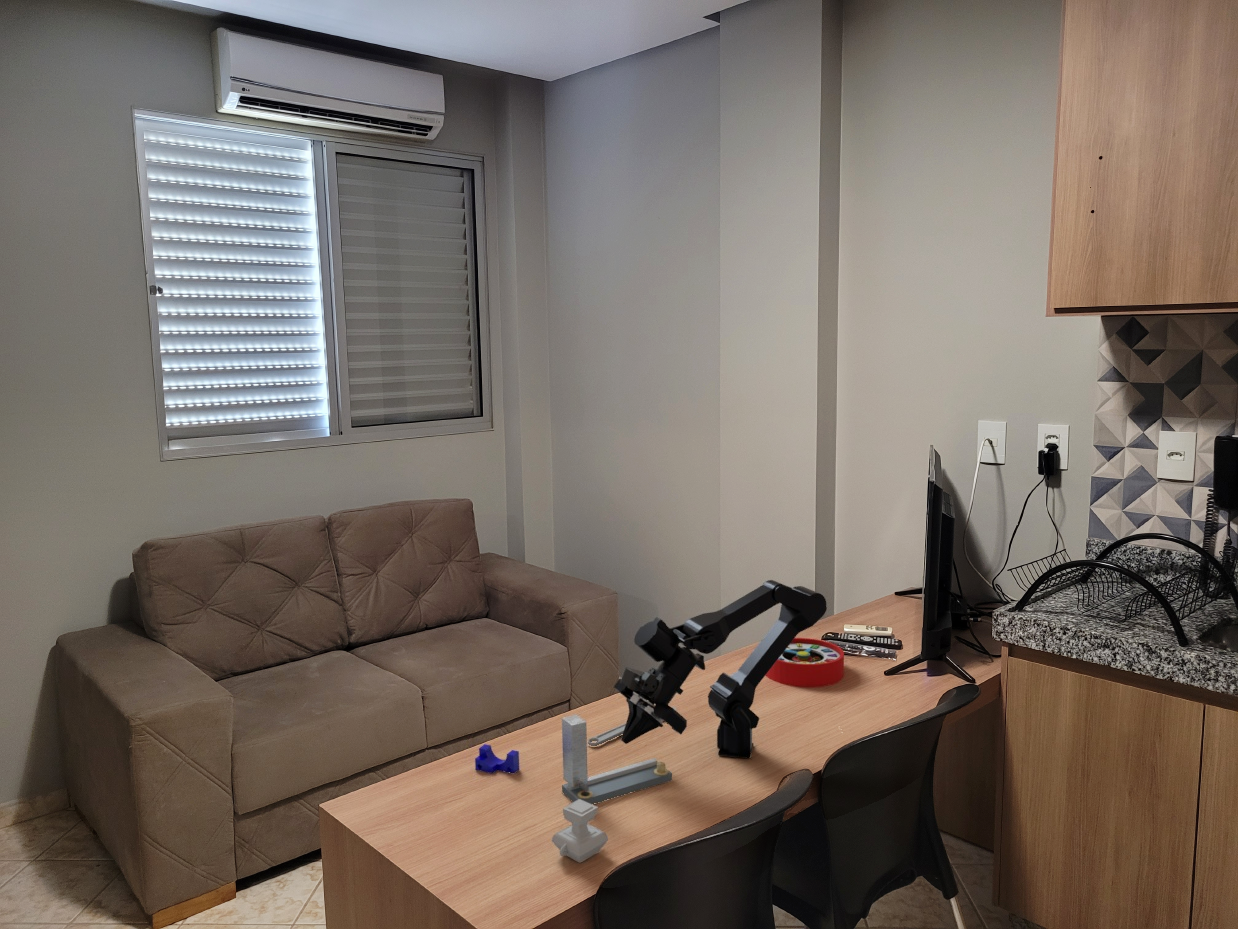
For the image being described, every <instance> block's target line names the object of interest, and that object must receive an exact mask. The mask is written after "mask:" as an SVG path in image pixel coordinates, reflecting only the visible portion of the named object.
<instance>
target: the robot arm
mask: <svg viewBox="0 0 1238 929" xmlns="http://www.w3.org/2000/svg"><path fill="white" fill-rule="evenodd" d="M778 604H781V606H780V612H779V617H778V619H777V620H776V621H775V622H774V623H773V625H772V627H771V628H770V629H769V630H768V631H767V633H766V634H765V635H764V637H762V639H761V640H760V642H759V643H758V644H757V645H756V647H755V648H754V649H753V651H752V652H751V653H750V654H749V656H748V657H746V660H744V662H743V663H742V664H741V666H740V667H739V668H738V670H737V671H735V672H734V673H731V674H729V675H728V673H725V672H722V673H720V675H719V676H718V678H717V680H716V681H715V682H714V683H713V684H711V685H710V686H709V687H710V691H709V693H708V695H707V698H708V699H707V704H708V705H709V706H708V707H710V710H712V711H714V714H715V716H716V717H717V718H719V719H720V722H719V725H718V727H717V729H716V748H717V749H718V752H717V753H718V754H717V755H718V756H721V757H731V758H739V759H740V758H741V759H750V758H751V757H752V753H753V749H754V743H753V729H756V728H757V727H758V723H759V721H760V717H759V716H758V715H757V714H756V713H755V712H754V711H753V710H751V707H752V705H753V703H754V699H755V693H756V688H757V687H758V686H759V684H760V682H761V681H763V680H764V677H766V676H765V675H766V674H767V673H768V671H769V670H770V669H771V667H772V666H773V665H774V664H775V662H776V661H777V660H778V659H779V657H780V656H781V655H782V653H783V652H784V651H785V650H786V648H787V647H788V646H789V644H790V643H791V642H792V641H793V639H794V638H797V636H798V635H799V633H801V632H803V631H805V630H808V629H810V628H812V627H813V626H815V624H817V623H818V622H819V621H820V620H821V619H822V618H823V617H824V616H825V614H826V613H827V608H828V607H827V600H826V597H825V596H824V595H823V594H821V593H820V592H818V591H815V590H812V589H809V588H808V587H805V586H803V585H802V586H801V585H798V586H794V587H791V586H788V585H786V584H784V583H780V582H778V581H776V580H773V579H768V580H765V581H764V582H763V583H762V584H761V585H760V586H759V587H757V588H755V589H754V590H752V591H750V592H748V593H747V594H745V595H743V596H741V597H740V598H738V599H736V600H734V601H733V602H731V603H729V604H727V605H726V606H724V607H723V608H721V609H718V610H716V611H712V612H706V613H701V614H698V615H696V616H692V617H691V618H688V619H686V621H685V622H684V623H682V624H680V625H677V626H673V627H669V626H668V625H667V623H666V622H665V621H664V620H663V619H661V618H660V617H657V616H656V617H655V618H654V619H653V620H652V621H648V622H647V623H645V624H644V625H643V626H641V627H639V628H638V630H637V631H636V634H635V635H634V640H633V642H634V644H635V645H636V646H637V647H638V648H639V649H640V650H642V652H644V653H645V654H646V655H647V656H648V657H650V659H652V660H653V661H654V662H656V663H659V662H661V663H659V666H658V667H657V669H656V668H655V667H651V668H650V669H649V670H648V671H645V672H643V671H641V670H638V669H634V668H631V667H627V666H625V668H624V671H623V674H622V676H621V678H620V679H618V680H617V682H616V683H615V684H614V686H613V688H614V689H615V690H616V691H617V692H618V693H620V694H621V695H622V696H623V697H624V698H625V699H626V703H627V706H628V716H627V720H626V722H625V723H626V725H625V729H624V732H623V735H622V736H621V737H620V738H621V739H620V740H621V742H622V743H624V745H625V744H626V745H627V744H629V743H631V742H632V741H634V740H636V739H638V738H640V737H641V736H643V735H645V734H647V733H649V732H650V731H653V730H656V729H657V728H662V727H664V725H663V724H662V723H663V722H665V723H666V724H667V725H669V726H670V727H671V729H672V730H674V731H675V732H676V733H678V734H679V735H682V734H683V733H684V732H685V730H686V728H687V727H688V726H687V725H688V721H687V719H686V718H685V717H683V716H684V715H683V716H682V714H680V713H679V712H678V711H677V709H676V710H674V709H673V706H672V707H671V706H670V705H669V704H670V703H671V702H672V700H673V699H674V697H675V696H676V694H678V695H681V696H682V694H683V692H684V690H683V689H682V688H681V687H682V686H683V684H684V683H685V682H686V680H687V679H688V677H689V675H690V674H691V673H692V671H693V670H694V668H695V667H696V668H698V669H700V670H702V671H705V670H706V663H705V660H704V659H705V656H704V655H709V654H711V653H713V652H714V651H715V650H717V649H718V648H720V647H721V646H722V645H723V644H724V643H725V642H726V641H727V639H728V637H729V636H730V634H731V633H732V632H733V631H735V630H736V629H737V628H740V627H742V626H743V625H745V624H747V623H748V622H750V621H751V620H753V619H755V618H757V617H758V616H760V615H762V614H763V613H765V612H766V611H768V610H769V609H772V608H773V607H775V606H776V605H778ZM680 644H681V645H683V646H680ZM692 650H696V651H697V652H699V653H694V651H692ZM700 653H701V654H700ZM703 654H704V655H703ZM663 720H664V721H663Z"/></svg>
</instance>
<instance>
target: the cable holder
mask: <svg viewBox="0 0 1238 929" xmlns="http://www.w3.org/2000/svg"><path fill="white" fill-rule="evenodd" d="M478 754H479V755H478V756H476V757H475V758H474V763H475V764H474V768H475V770H476V771H480V772H485V773H488V772H489V774H492V773H493V772H494V773H495V772H497V771H498V770H499V771H500V772H503V771H505V772H504V773H507V772H510V773H509V774H511V773H515V772H516V771H517V772H519V771H520V751H519V750H514V749H512V750H510V751H509V752H508V753H506V756H505V757H506V758H505V759H502V758H499V757H497V756H496V754H495V753H494V751H493V749H492V745H490V744H486V743H484V744H483V745H482V746H480V747H479V748H478ZM499 771H498V772H499ZM517 772H516V773H517ZM494 773H493V774H494ZM516 773H515V774H516Z"/></svg>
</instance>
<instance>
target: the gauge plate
mask: <svg viewBox="0 0 1238 929" xmlns="http://www.w3.org/2000/svg"><path fill="white" fill-rule="evenodd" d="M671 780H672V781H673V772H671V771H670V770H669V769H667V768H666V763H665V762H663V761H659V762H658V760H657V758H654V757H653V758H651V759H647V760H644V761H640V762H636V763H633V764H630V765H627V766H623V767H619V768H616V769H612V770H609V771H606V772H603V773H598V774H595V775H592V776H589V777H588V784H585V785H586V786H587V787H588V788H589V791H586V793H582V789H581V788H580V787H579V786H578V787H575V788H573V787H572V786H571V785H569V784H568V783H567V782H566V783H565V784H562V785H561V792H563V793H564V794H565V795H566V796H567V797H568V798H569V801H571V800H572V801H571V803H573V802H575V801H576V800H578V799H581V800H583V801H585V802H587V803H590V804H594V803H597V804H599V803H598V802H601V803H603V802H602V801H604V800H607V799H610V800H612V799H611V798H614V797H617V796H620V797H622V796H621V795H623V796H625V795H624V794H627V795H629V794H628V793H630V792H633V793H635V792H634V791H636V792H639V791H638V790H640V791H642V790H641V789H643V790H645V788H646V789H649V788H652V786H653V787H655V785H656V786H659V785H662V784H666V783H668V781H669V782H672V781H671ZM665 782H666V783H665ZM658 784H659V785H658ZM648 787H649V788H648ZM563 793H562V794H563ZM564 794H563V795H564ZM630 794H631V793H630ZM565 795H564V796H565ZM566 796H565V797H566ZM567 797H566V798H567ZM568 798H567V799H568ZM617 798H618V797H617ZM614 799H615V798H614ZM607 801H608V800H607ZM604 802H605V801H604ZM594 805H595V804H594Z"/></svg>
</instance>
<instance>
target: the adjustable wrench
mask: <svg viewBox="0 0 1238 929" xmlns="http://www.w3.org/2000/svg"><path fill="white" fill-rule="evenodd" d="M672 708H673V709H674V710H676V711H677V708H676V706H672ZM625 725H626V722H625V723H622V724H620V725H617V726H616V727H614V728H611V729H609V730H606V731H604V732H602V733H600V734H597V735H594V736H592V737H590V738H587V745H588V744H589V745H591V746H597V745H599V744H602V743H604V742H606V741H608V740H611V739H613V738H615V737H617V736H620V735H621V734H623V732H624V729H625ZM592 741H597V742H596V743H591V742H592Z"/></svg>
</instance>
